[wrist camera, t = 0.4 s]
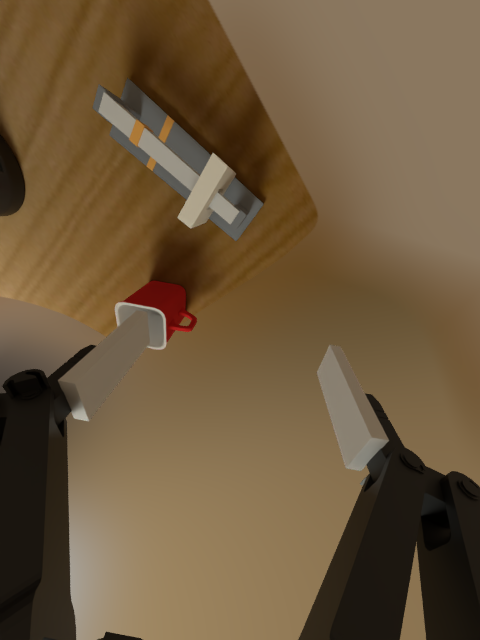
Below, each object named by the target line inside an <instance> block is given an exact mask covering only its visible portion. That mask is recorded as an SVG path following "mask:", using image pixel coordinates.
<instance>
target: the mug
mask: <svg viewBox="0 0 480 640" xmlns="http://www.w3.org/2000/svg"><path fill="white" fill-rule="evenodd" d="M136 310H138V311H143V312H147V315H148V326H149V337H150V344H149V345H148V346H147V348H152V349H157V350H160V349H164V348H165V347H166V344H167V342H168V340H169V339H170V337H171V336H172V334H173V333H174V331H175V330H178V331H185V332H189V331H192V329H193V328H194V326H195V324H196V322H197V318H196V317H195V316H194V315H192V314H191V313H189V312H187V311H186V292H185V289H184V288H183V287H182V286H180V285H176V284H171V283H165V282H160V281H150V282H149V283H148V284H146V285H145V286H143V287H142V288H141V289H139V290H138V291H136V292H135V293H134V294H132V295H131V296H130V297H128V298H127V299H125V300H124V301H122V302H118V303H117V304H116V305H115V314H116V320H117V326H120V325H121V324H122V323H123V322H124V321H125V320H126V319H127V318H129V317H130V316H131V315H132V314H133V313H134V312H135V311H136ZM184 316H185V317H188V318H189V319H190V320H191V323H190V325H189V326H181V325H179V324H180V323H181V321H182V320H183V318H184Z"/></svg>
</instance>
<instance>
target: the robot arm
mask: <svg viewBox="0 0 480 640" xmlns="http://www.w3.org/2000/svg"><path fill="white" fill-rule="evenodd" d="M23 200H24V181H23V177H22V173H21V170H20V167H19V165H18V163H17V161H16V158H15V156H14V155H13V153H12V151H11V149H10V148H9V146H8V145H7V143H6V142H5V140H4V139H3V138H2V136H1V135H0V216H8V215H11V214H14V213H15V212H17V211H18V210H19V209H20V207H21V205H22V203H23ZM149 344H150V337H149V326H148V315H147V312H143V311H138V310H136V311H135V312H134V313H133V314H132V315H131V316H130V317H129V318H127V319H126V320H125V321H124V322H123V323H122V324H121V325H120V326H118V327H117V328H116V329H115V330H114V331H113V332H112V333H111V334H109V335H108V336H107V337H106V338H105V339H104V340H103V341H102V342H101V343H99V344H98V345H97V346H95V345H90V346H88V347H85V348H83V349H82V350H80V351H79V352H78V353H77V354H75V355H74V357H72V358H70V359H69V360H68V361H67V362H66V363H64V365H62V366H61V367H60V368H59V369H57V370H56V371H55V372H54V373H53V374H51V375H50V376H49V377H48V378H47V377H46V375H45V373H44V372H43V371H41V370H38V369H31V370H25V371H22V372H19V373H17V374H15V375H13V376H11V377H10V378H9V379H7V380H6V381H5V383H4V384H3V388H4V390H5V391H6V393H2V394H0V640H76V625H75V615H74V609H73V605H72V602H71V595H70V555H69V506H68V461H67V459H68V458H67V421H66V417H67V415H68V414H69V413H70V412H72V415H73V417H74V419H80V420H85V421H90V419H91V418H92V417H93V416H94V414H95V413H96V412H97V410H98V409H99V408H100V407H101V405H102V404H103V403H104V401H105V400H106V399H107V397H108V396H109V395H110V394H111V392H112V391H113V390H114V388H115V387H116V386H117V385H118V383H119V382H120V381H121V380H122V378H123V377H124V376H125V374H126V373H127V372H128V371H129V369H130V368H131V367H132V365H133V364H134V363H135V362H136V360H137V359H138V358H139V356H140V355H141V354H142V353H143V351H144V350H145V349H146V347H147V346H148V345H149ZM317 375H318V378H319V381H320V385H321V388H322V391H323V394H324V398H325V401H326V405H327V408H328V411H329V414H330V418H331V421H332V424H333V427H334V431H335V434H336V437H337V440H338V444H339V447H340V451H341V454H342V457H343V461H344V463H345V467H346V468H348V469H353V470H358V471H361V470H362V469H363V468H364V467H365V466H366V465H367V467H368V469H369V472H370V474H369V475H368V476H367V477H366V478H365V479H364V480H363V481H362V482H361V483H360V484H361V485H363V484H364V485H363V487H362V490H361V492H360V494H359V497H358V499H357V501H356V504H355V506H354V508H353V511H352V513H351V516H350V518H349V520H348V523H347V525H346V528H345V530H344V532H343V535H342V537H341V540H340V542H339V544H338V547H337V549H336V552H335V554H334V556H333V559H332V561H331V563H330V566H329V568H328V571H327V573H326V575H325V578H324V580H323V583H322V585H321V587H320V590H319V592H318V595H317V597H316V600H315V602H314V604H313V606H312V609H311V611H310V614H309V616H308V618H307V621H306V623H305V626H304V628H303V630H302V633H301V635H300V637H299V640H400V634H401V628H402V623H403V617H404V611H405V605H406V599H407V593H408V587H409V582H410V575H411V569H412V563H413V558H414V552H415V546H416V541H417V550H418V560H419V571H420V581H421V591H422V599H423V610H424V620H425V630H426V640H480V487H479V486H478V485H477V484H476V483H475V482H474V481H473V480H471V479H470V478H468V477H467V476H465V475H464V474H462V473H459V472H455V471H452V472H450V473H448V474H447V475H446V476H445V475H443V474H441V473H439V472H437V471H435V470H433V469H431V468H428V467H426V466H425V465H424V463H423V462H422V461H421V459H420V458H419V457H418V456H417V455H416V454H414V453H413V452H412V451H410V450H409V449H407V448H405V447H404V445H403V444H402V442H401V440H400V438H399V437H398V435H397V433H396V431H395V429H394V428H393V426H392V424H391V422H390V421H389V420H388V417H387V415H386V414H385V413H384V410H383V408H382V406H381V405H380V403H379V402H378V401H377V400H376V399H375V398H374V397H373V396H372V395H371V394H365V393H364V391H363V389H362V387H361V385H360V383H359V381H358V379H357V378H356V375H355V374H354V372H353V370H352V368H351V366H350V364H349V362H348V360H347V358H346V356H345V354H344V352H343V350H342V348H341V347H340V346H335V345H330V346H329V348H328V350H327V352H326V354H325V356H324V359H323V361H322V363H321V365H320V367H319V369H318V371H317ZM98 640H142V639H141V638H136V637H131V636H125V635H120V634H115V633H110V632H106V633H105V636H104V638H101V639H98Z"/></svg>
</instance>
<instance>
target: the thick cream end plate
mask: <svg viewBox="0 0 480 640" xmlns="http://www.w3.org/2000/svg"><path fill="white" fill-rule="evenodd" d="M235 175H236V173H235V172H234V171H233V170H232V169H231V168H230V167H229V166H228V165H227V164H225V163H224V162H223V161H222V160H221V159H220V158H219V157H217V156H216V155H215V154H214V153H212V155H211V157H210V159H209V161H208V163H207V164H206V166H205V168H204V170H203V172H202V173H201V175H200V177H199V179H198V181H197V183H196V184H195V186H194V188H193V190H192V192H191V194H190V195H189V197H188V199H187V201H186V203H185V205H184V206H183V208H182V210H181V212H180V214H179V216H178V217H177V218H178V219H179V220H181V221H182V222H183V223H184V224H186V225H187V226H188V227H189V228H194V227H196V226H199V225H201V224H203V223H206V222H207V220H208V219H209V217H210V215H211V214H212V212H213V211H214V210H213V209H211V208H210V207H209V205H210V203H211V202H212V200H213V198H214V197H215V195H216V193H217V192H218V191H219V192H220V193H221V194H222V195H224V193H225V191H226V190H227V188H228V187H229V185H230V183H231V182H232V180H233V179H234V177H235Z"/></svg>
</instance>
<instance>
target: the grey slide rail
mask: <svg viewBox="0 0 480 640" xmlns="http://www.w3.org/2000/svg"><path fill="white" fill-rule="evenodd" d="M93 109H94V110H95V111H96V112H98V113H99V114H100V115H101V116H102V117H103V118H105V119H106V120H107V121H108V122H110V123H112V124H113V125H112V128H111V132H110V136H111V137H112V138H114V139H115V140H116V141H117V142H118V143H120V144H121V145H122V146H123V147H124V148H125V149H127V150H128V151H129V152H130V153H131V154H133V155H134V156H135V157H136V158H137V159H139V160H140V161H141V162H142V163H143V164H145V165H146V166H147V167H148V168H149V169H150V170H151V171H153V172H154V173H155V174H157V175H158V176H159V177H160V178H161V179H162V180H164V181H165V182H166V183H167V184H168V185H170V186H171V187H172V188H173V189H174V190H176V191H177V192H178V193H179V194H180V195H182V196H183V197H184V198H185V199H186V200H187V199H188V197H189V195H190V194H191V192H192V190H193V188H194V186H195V184H196V183H197V181H198V179H199V177H200V175H201V173H202V172H203V170H204V168H205V166H206V164H207V163H208V161H209V159H210V157H211V155H210V154H209V153H208V152H207V151H206V150H205V149H204V148H203V147H202V146H201V145H200V144H199V143H197V142H196V141H195V140H194V139H193V138H192V137H191V136H190V135H189V134H188V133H187V132H186V131H185V130H183V129H182V128H181V127H180V126H179V125H178V124H177V123H176V122H175V121H174V120H173V119H172V118H171V117H169V116H168V115H167V114H166V113H165V112H164V111H163V110H162V109H161V108H160V107H159V106H158V105H157V104H155V103H154V102H153V101H152V100H151V99H150V98H149V97H148V96H147V95H146V94H145V93H144V92H143V91H141V90H140V89H139V88H138V87H137V86H136V85H135V84H134V83H133V82H132V81H131V80H130V79H128V78H127V81H126V84H125V87H124V90H123V93H122V97H121V99H120V98H118V97H117V96H115V95H114V94H112V93H111V92H110V91H108V90H107V89H105V88H104V87H102V86H101V85H99V86H98V90H97V93H96V97H95V101H94V105H93ZM262 206H263V203H262V202H261V201H260V200H259V199H258V198H257V197H256V196H255V195H253V194H252V193H251V192H250V191H249V190H248V189H247V188H246V187H245V186H244V185H243V184H242V183H241V182H239V181H238V180H237V179H236V178H235V177H234V179H233V180H232V182H231V183H230V185H229V187H228V188H227V190H226V191H225V193H224V195H222V194H221V193H220V192H219V191H218V192H217V193H216V195H215V197H214V198H213V200H212V202H211V203H210V205H209V207H210V208H211V209H213V210H214V211H213V212H212V214H211V215H210V217H209V219H210V220H211V221H213V222H214V223H215V224H216V225H217V226H219V227H220V228H221V229H222V230H223V231H225V232H226V233H227V234H228V235H229V236H230V237H232V238H233V239H234V240H235V241H237V240H238V238H239V237H240V236H241V234H242V233H243V231H244V230H245V229H246V227H247V226H248V225H249V223H250V222H251V221H252V219H253V218H254V216H255V215H256V214H257V212H258V211H259V210H260V208H261V207H262Z"/></svg>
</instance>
